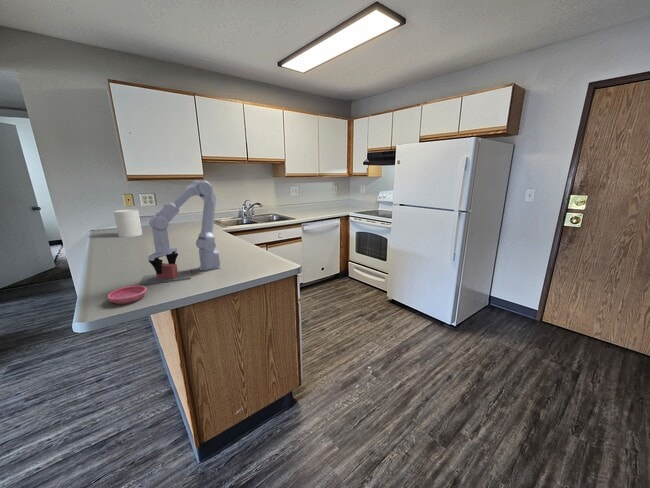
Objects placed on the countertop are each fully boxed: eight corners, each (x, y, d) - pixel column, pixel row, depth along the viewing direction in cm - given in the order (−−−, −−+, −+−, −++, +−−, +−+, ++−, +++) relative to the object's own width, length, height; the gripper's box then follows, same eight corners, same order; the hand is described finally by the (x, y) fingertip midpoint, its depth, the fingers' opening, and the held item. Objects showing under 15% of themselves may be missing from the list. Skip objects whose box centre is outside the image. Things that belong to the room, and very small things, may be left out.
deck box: (161, 275, 125) (159, 263, 124) (178, 276, 124) (176, 264, 122) (156, 277, 123) (154, 265, 121) (173, 278, 121) (171, 266, 119)
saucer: (120, 309, 94) (119, 301, 93) (101, 302, 99) (99, 294, 98) (155, 295, 105) (153, 288, 104) (135, 290, 110) (134, 283, 109)
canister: (146, 234, 219) (142, 210, 214) (125, 237, 205) (120, 212, 200) (135, 232, 226) (131, 209, 221) (114, 235, 212) (109, 211, 208)
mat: (191, 270, 133) (191, 269, 133) (190, 278, 122) (190, 277, 122) (144, 276, 125) (144, 275, 124) (138, 285, 114) (138, 284, 114)
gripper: (156, 247, 112) (161, 277, 115) (180, 239, 125) (184, 266, 129) (142, 246, 113) (147, 275, 116) (168, 238, 127) (172, 265, 130)
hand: (166, 270), depth 122 cm, fingers open, 7 cm apart
